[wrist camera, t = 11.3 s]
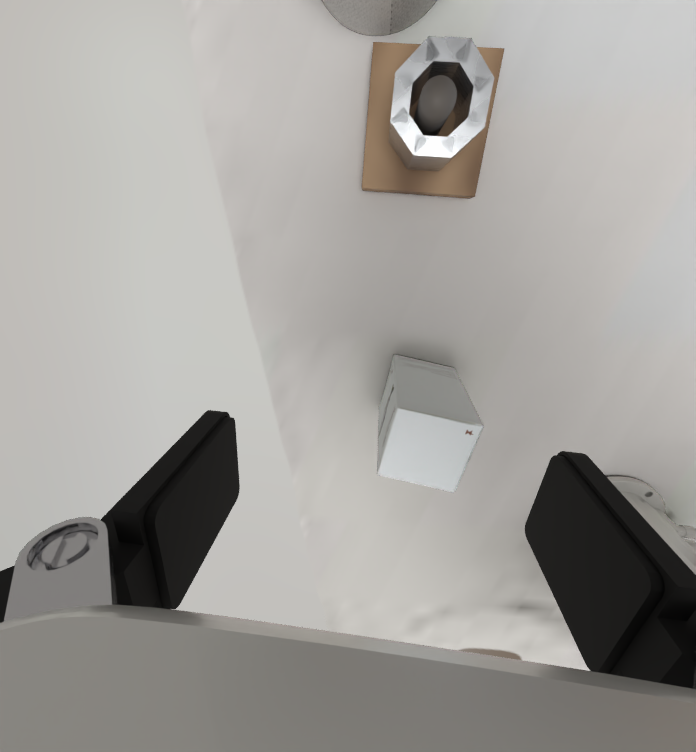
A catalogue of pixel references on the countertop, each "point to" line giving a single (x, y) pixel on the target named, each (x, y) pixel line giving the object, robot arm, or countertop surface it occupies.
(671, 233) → the countertop surface
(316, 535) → the countertop surface
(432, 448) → the supplement box
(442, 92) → the shaft block
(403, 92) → the hub
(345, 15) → the toilet paper roll
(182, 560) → the robot arm
